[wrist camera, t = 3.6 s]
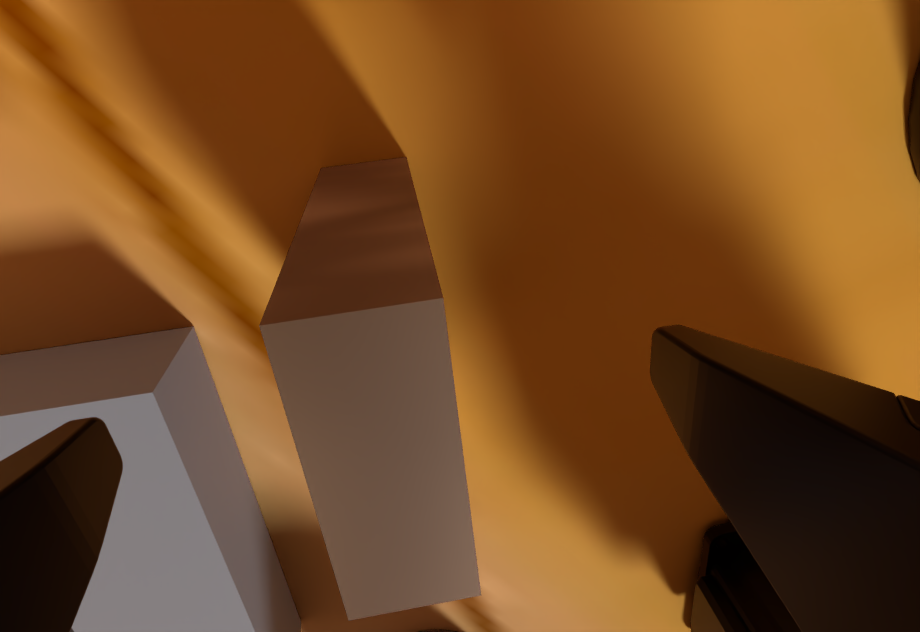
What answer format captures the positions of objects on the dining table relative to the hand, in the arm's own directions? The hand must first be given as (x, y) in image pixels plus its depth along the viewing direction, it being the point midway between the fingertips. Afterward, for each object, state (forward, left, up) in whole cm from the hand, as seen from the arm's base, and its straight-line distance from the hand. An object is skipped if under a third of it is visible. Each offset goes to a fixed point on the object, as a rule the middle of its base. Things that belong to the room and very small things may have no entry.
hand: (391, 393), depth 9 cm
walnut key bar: (0, 0, -6) cm, 6 cm away
